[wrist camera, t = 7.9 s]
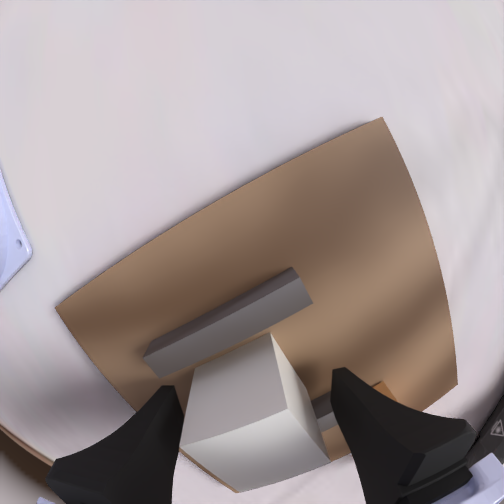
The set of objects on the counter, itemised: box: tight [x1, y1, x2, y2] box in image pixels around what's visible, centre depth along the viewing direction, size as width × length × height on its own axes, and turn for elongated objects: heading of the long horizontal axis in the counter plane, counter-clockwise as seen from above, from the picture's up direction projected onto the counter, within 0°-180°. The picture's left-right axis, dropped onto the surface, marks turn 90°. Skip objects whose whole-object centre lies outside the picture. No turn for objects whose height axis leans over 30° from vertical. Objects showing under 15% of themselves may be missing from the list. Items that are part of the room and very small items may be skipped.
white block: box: [179, 332, 331, 492], centre depth 10 cm, size 4×4×5 cm
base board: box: [55, 117, 458, 493], centre depth 13 cm, size 18×18×2 cm
